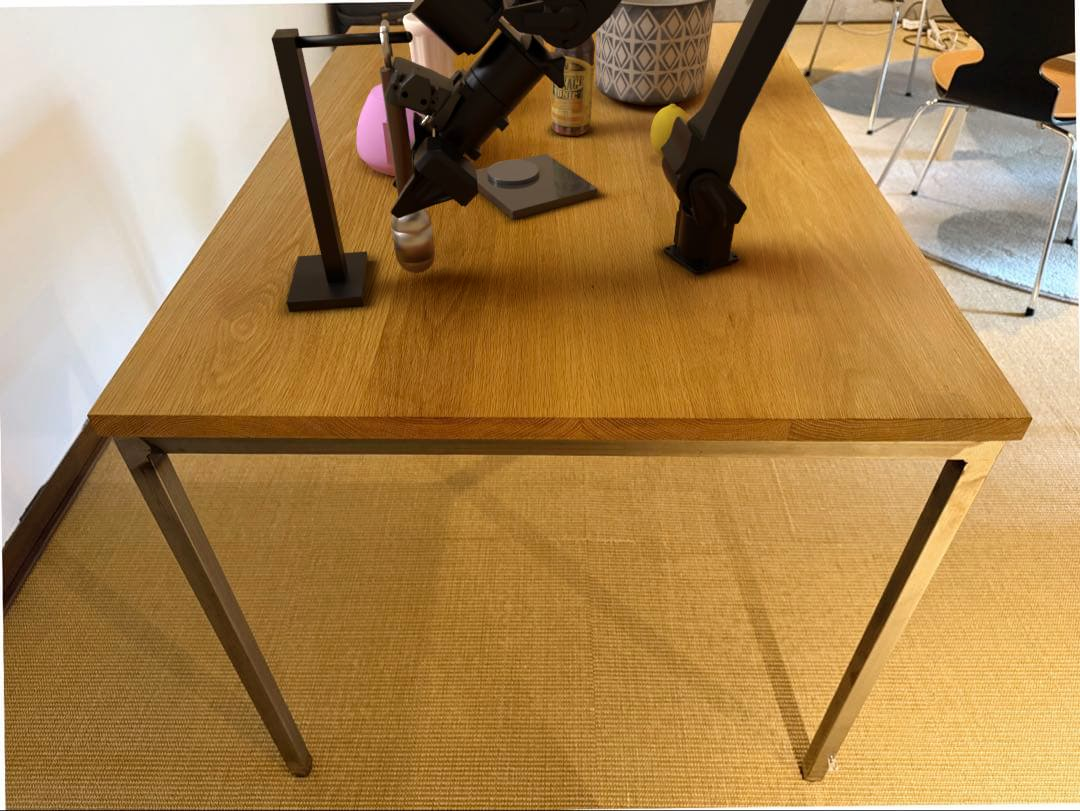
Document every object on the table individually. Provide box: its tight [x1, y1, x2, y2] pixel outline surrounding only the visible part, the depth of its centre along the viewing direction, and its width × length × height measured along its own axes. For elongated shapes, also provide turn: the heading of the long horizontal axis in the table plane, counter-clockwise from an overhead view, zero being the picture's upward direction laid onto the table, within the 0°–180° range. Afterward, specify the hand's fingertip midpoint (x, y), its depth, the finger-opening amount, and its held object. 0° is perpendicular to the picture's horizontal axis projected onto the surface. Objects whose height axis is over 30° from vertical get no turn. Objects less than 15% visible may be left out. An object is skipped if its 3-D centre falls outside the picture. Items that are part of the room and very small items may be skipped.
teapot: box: [355, 83, 422, 177], centre depth 109 cm, size 22×16×12 cm
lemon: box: [650, 103, 690, 158], centre depth 109 cm, size 6×6×8 cm
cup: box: [402, 12, 455, 78], centre depth 124 cm, size 8×8×14 cm
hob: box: [476, 152, 599, 220], centre depth 104 cm, size 14×13×2 cm
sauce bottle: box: [550, 35, 596, 137], centre depth 114 cm, size 7×6×20 cm
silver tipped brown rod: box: [379, 19, 436, 274], centre depth 78 cm, size 4×4×26 cm
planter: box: [595, 0, 717, 106], centre depth 127 cm, size 19×19×16 cm
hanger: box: [271, 27, 413, 312], centre depth 78 cm, size 16×10×26 cm, turn 97°
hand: (395, 200), depth 80 cm, fingers open, 6 cm apart
